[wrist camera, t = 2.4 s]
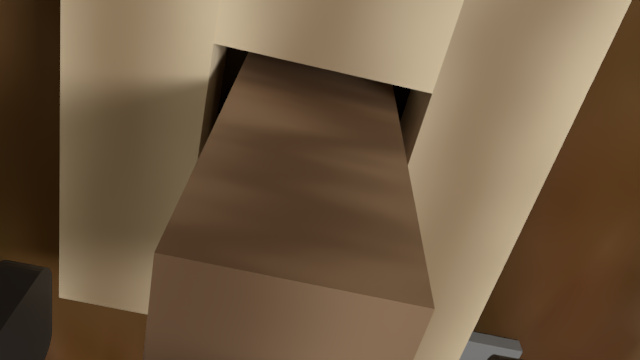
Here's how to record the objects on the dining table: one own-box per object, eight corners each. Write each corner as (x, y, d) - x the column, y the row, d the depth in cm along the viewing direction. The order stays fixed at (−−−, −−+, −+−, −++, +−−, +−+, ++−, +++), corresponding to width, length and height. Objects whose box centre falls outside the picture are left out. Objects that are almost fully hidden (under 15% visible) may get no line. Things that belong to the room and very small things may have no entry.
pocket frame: (596, -42, 17) (641, -21, 14) (440, 315, 24) (452, 373, 21) (107, -166, 16) (61, -167, 13) (91, 245, 23) (58, 297, 20)
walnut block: (390, 75, 19) (435, 309, 9) (355, 192, 21) (363, 477, 12) (253, 43, 19) (154, 252, 9) (231, 165, 21) (134, 437, 11)
